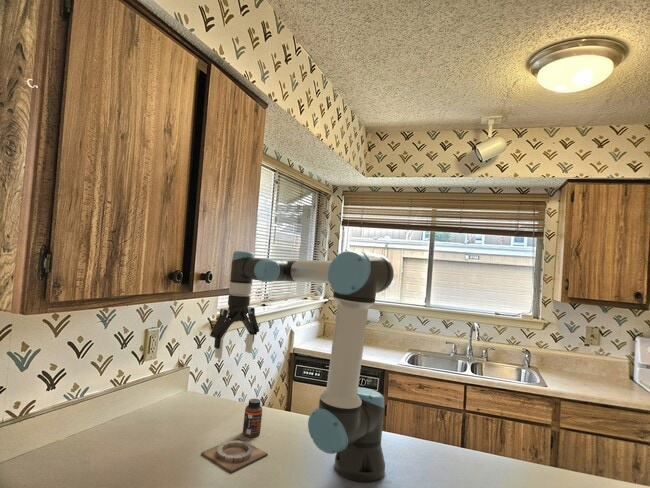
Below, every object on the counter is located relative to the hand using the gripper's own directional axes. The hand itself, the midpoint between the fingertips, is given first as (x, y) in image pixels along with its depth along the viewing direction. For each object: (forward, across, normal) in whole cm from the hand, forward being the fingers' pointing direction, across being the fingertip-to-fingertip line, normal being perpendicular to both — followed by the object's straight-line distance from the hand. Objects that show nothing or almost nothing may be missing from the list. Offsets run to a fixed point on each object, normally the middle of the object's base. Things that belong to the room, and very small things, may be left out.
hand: (233, 355), depth 134 cm
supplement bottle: (+26, -3, +9) cm, 27 cm away
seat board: (+25, +10, +16) cm, 31 cm away
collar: (+25, +10, +16) cm, 31 cm away
